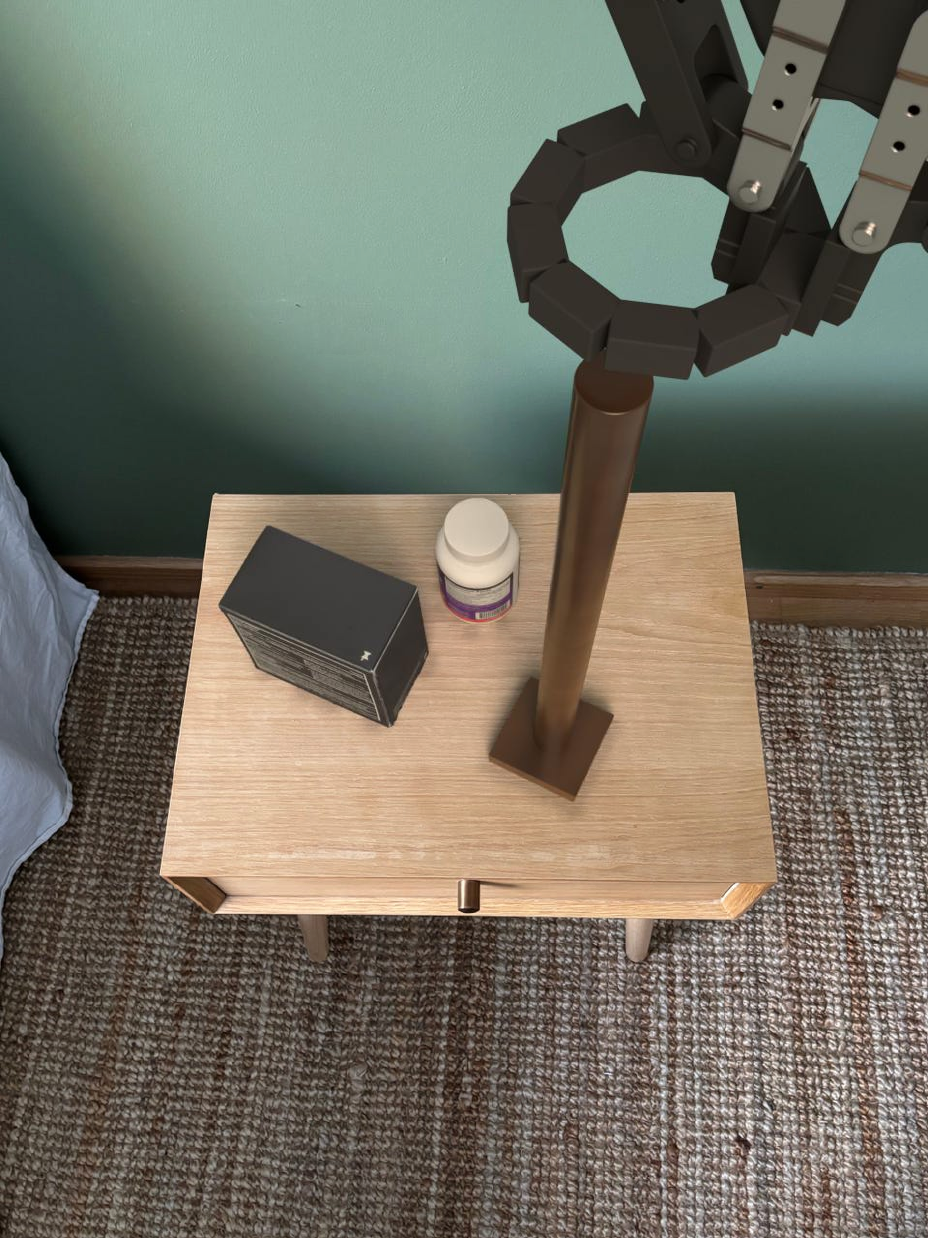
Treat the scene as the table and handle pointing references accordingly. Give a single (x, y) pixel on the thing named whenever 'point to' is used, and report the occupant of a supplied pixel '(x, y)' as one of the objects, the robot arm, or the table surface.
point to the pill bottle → (478, 561)
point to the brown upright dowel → (578, 581)
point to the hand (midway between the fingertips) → (778, 296)
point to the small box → (328, 624)
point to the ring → (635, 328)
